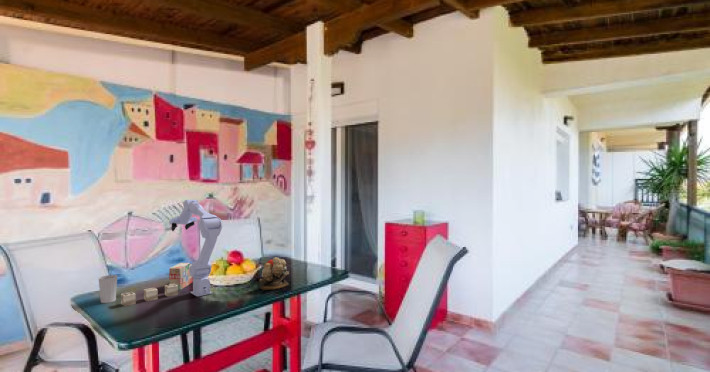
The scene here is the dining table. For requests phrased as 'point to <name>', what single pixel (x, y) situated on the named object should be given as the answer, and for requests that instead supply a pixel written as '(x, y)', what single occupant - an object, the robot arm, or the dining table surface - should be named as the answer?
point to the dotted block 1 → (128, 298)
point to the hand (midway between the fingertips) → (179, 229)
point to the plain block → (150, 294)
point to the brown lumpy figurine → (274, 275)
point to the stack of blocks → (180, 275)
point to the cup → (108, 288)
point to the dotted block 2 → (171, 290)
